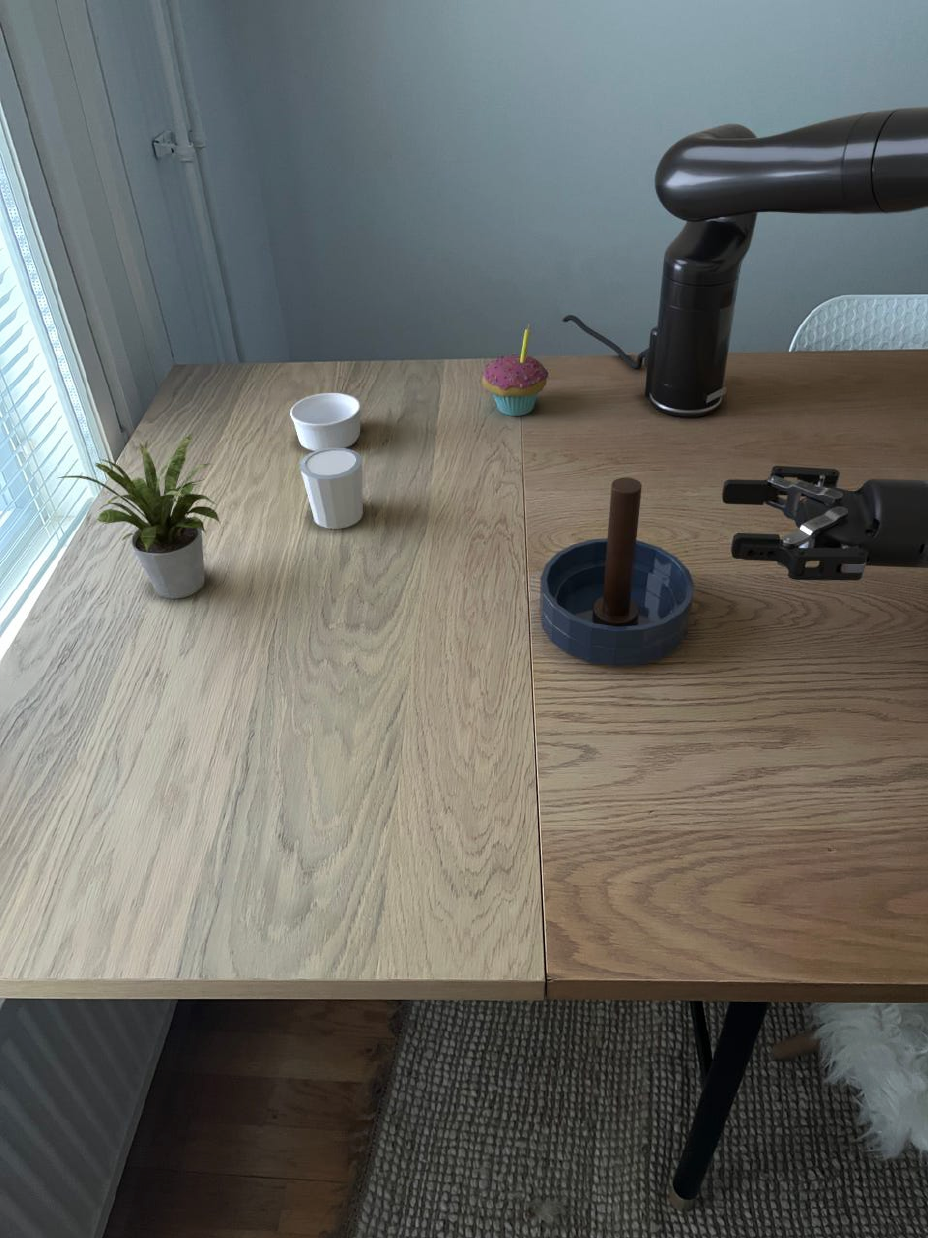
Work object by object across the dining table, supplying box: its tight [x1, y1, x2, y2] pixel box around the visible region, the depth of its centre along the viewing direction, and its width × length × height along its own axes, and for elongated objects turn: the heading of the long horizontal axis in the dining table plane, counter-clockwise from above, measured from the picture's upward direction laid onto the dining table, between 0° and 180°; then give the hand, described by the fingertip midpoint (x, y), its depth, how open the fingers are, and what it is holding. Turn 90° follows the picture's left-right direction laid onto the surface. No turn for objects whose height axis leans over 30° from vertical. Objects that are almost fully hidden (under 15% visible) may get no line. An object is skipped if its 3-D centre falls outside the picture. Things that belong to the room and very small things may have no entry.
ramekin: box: [289, 392, 361, 452], centre depth 121 cm, size 9×9×4 cm
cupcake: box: [482, 323, 549, 417], centre depth 123 cm, size 9×8×12 cm
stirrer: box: [592, 477, 643, 627], centre depth 87 cm, size 4×4×15 cm
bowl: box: [539, 537, 696, 668], centre depth 91 cm, size 14×14×5 cm
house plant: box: [58, 432, 221, 600], centre depth 94 cm, size 14×14×16 cm
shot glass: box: [299, 447, 364, 530], centre depth 106 cm, size 7×7×7 cm
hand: (727, 517), depth 83 cm, fingers open, 8 cm apart
